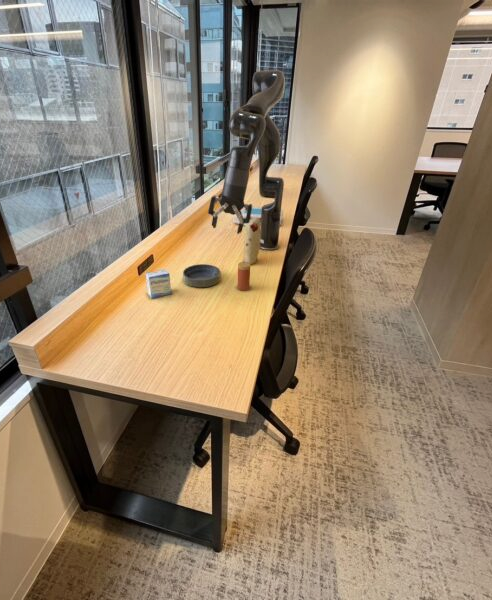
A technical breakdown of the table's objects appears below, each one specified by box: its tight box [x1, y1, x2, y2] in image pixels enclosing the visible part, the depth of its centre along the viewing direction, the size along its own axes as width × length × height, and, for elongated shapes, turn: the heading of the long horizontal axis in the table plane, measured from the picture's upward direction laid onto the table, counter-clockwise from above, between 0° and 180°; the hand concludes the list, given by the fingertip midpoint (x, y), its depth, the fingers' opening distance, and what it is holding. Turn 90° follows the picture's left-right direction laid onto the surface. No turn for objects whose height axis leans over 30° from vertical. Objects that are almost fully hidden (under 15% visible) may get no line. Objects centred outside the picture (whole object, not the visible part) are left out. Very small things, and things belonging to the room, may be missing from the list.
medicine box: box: [144, 269, 172, 299], centre depth 121 cm, size 8×4×9 cm, turn 117°
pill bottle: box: [237, 261, 252, 292], centre depth 124 cm, size 5×5×10 cm
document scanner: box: [232, 206, 284, 226], centre depth 200 cm, size 21×28×6 cm
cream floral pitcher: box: [243, 217, 261, 265], centre depth 144 cm, size 10×7×20 cm
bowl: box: [182, 263, 221, 288], centre depth 132 cm, size 15×15×4 cm
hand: (226, 230), depth 114 cm, fingers open, 8 cm apart
